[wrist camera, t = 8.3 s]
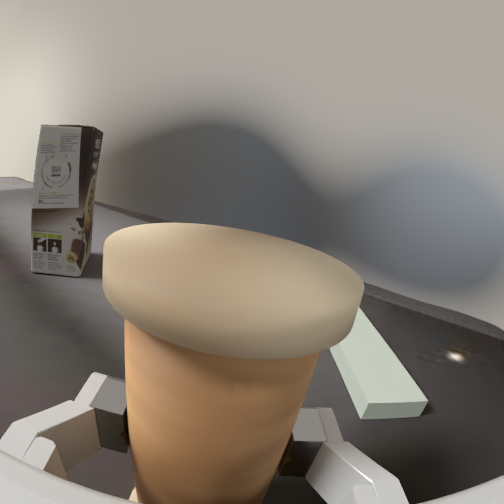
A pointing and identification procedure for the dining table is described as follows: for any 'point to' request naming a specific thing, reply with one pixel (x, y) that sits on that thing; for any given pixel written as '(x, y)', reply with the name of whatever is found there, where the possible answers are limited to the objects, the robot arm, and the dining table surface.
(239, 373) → the bobbin
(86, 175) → the coffee box
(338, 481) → the robot arm
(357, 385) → the notched board
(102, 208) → the dining table surface
